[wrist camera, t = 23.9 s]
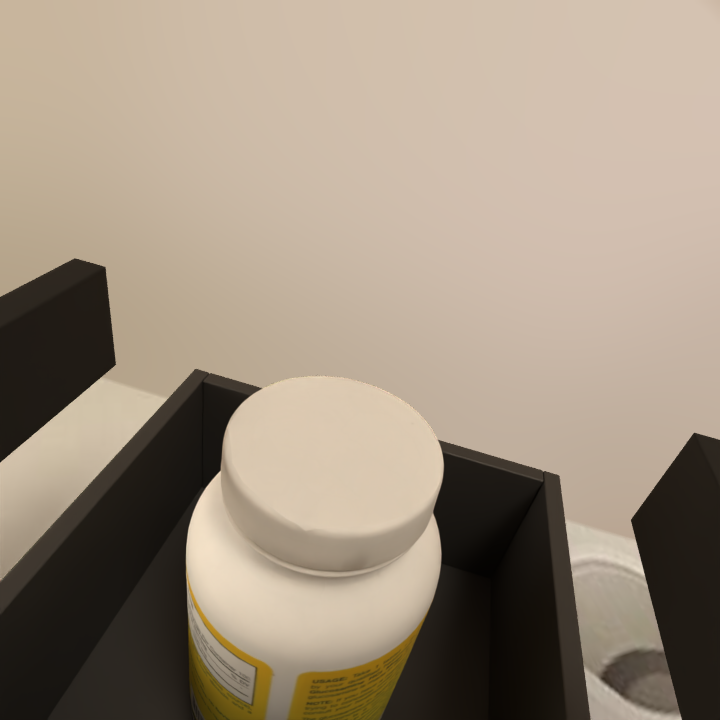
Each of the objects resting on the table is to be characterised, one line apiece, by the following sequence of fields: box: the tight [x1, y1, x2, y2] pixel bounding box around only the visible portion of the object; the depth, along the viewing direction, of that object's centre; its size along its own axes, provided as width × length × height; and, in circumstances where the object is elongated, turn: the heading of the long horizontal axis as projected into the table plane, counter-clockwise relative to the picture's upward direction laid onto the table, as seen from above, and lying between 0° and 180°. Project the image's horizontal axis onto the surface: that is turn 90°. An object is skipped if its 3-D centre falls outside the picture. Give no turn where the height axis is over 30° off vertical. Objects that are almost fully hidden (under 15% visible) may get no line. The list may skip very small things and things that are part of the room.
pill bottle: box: [186, 376, 444, 720], centre depth 14 cm, size 6×6×11 cm
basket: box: [0, 369, 590, 720], centre depth 15 cm, size 14×14×6 cm
